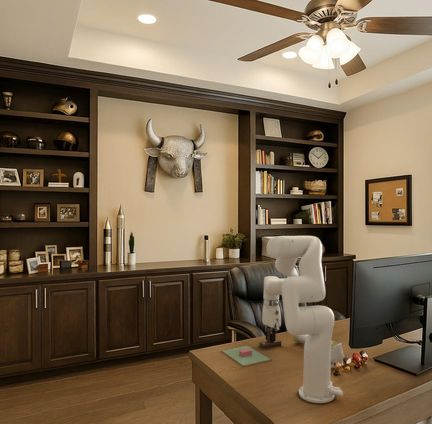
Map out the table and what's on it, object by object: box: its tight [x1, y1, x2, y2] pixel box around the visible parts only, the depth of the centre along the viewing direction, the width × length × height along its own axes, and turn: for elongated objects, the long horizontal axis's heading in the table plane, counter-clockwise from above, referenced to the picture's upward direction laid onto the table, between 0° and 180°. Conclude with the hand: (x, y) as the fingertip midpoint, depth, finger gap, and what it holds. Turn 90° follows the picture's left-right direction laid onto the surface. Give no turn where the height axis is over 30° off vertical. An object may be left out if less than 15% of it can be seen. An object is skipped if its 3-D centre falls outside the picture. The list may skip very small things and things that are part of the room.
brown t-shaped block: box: [259, 328, 282, 350], centre depth 187 cm, size 4×10×8 cm, turn 122°
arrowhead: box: [331, 342, 346, 369], centre depth 163 cm, size 8×2×10 cm, turn 119°
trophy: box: [292, 334, 340, 364], centre depth 180 cm, size 8×8×30 cm
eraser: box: [239, 349, 252, 357], centre depth 174 cm, size 3×5×2 cm, turn 122°
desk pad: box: [222, 345, 272, 367], centre depth 174 cm, size 20×14×1 cm
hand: (270, 340), depth 187 cm, fingers closed on brown t-shaped block, 2 cm apart
